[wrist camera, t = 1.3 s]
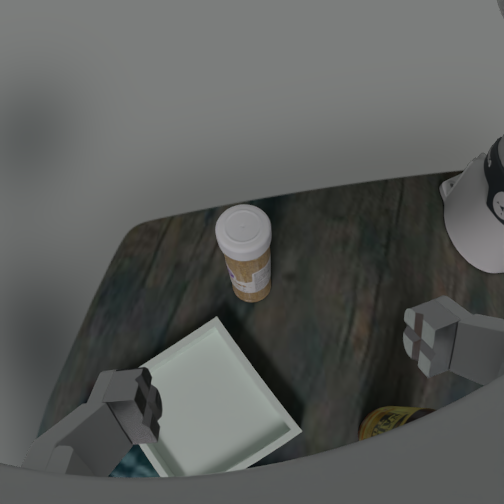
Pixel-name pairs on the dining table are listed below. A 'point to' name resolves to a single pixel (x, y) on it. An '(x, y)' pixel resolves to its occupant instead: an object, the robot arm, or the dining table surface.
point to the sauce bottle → (389, 419)
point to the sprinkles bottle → (246, 250)
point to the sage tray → (213, 407)
